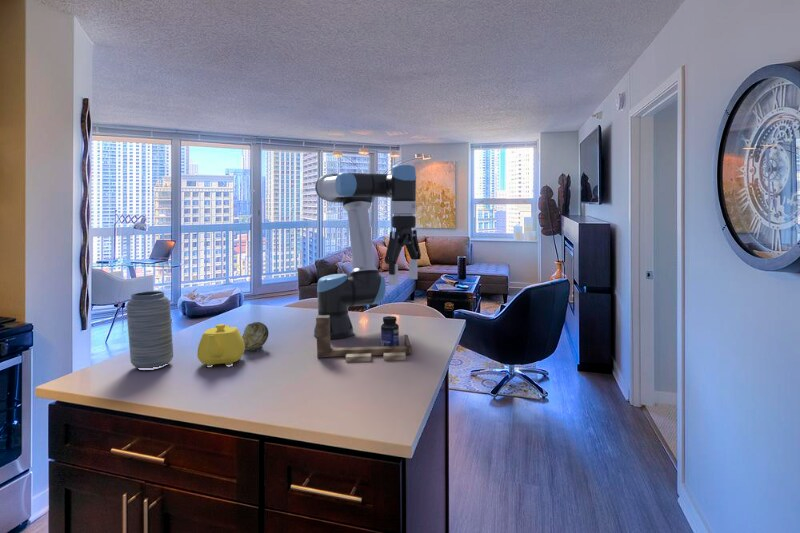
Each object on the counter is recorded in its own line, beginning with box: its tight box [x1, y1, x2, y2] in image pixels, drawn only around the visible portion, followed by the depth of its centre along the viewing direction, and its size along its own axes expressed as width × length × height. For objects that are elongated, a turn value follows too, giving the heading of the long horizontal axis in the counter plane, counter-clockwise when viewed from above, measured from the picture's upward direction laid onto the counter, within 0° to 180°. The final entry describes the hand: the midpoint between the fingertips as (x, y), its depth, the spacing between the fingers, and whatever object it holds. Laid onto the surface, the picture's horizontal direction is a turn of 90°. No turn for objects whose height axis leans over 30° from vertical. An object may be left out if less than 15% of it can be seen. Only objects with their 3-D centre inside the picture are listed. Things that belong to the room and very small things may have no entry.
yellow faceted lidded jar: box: [196, 323, 246, 366], centre depth 138 cm, size 13×20×12 cm
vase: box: [125, 290, 174, 369], centre depth 136 cm, size 12×12×23 cm
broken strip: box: [345, 352, 407, 363], centre depth 141 cm, size 19×3×2 cm, turn 94°
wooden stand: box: [315, 314, 412, 358], centre depth 150 cm, size 31×14×13 cm, turn 94°
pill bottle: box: [380, 315, 400, 347], centre depth 153 cm, size 6×6×11 cm
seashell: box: [241, 321, 269, 351], centre depth 154 cm, size 11×11×10 cm
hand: (403, 281), depth 141 cm, fingers open, 13 cm apart
